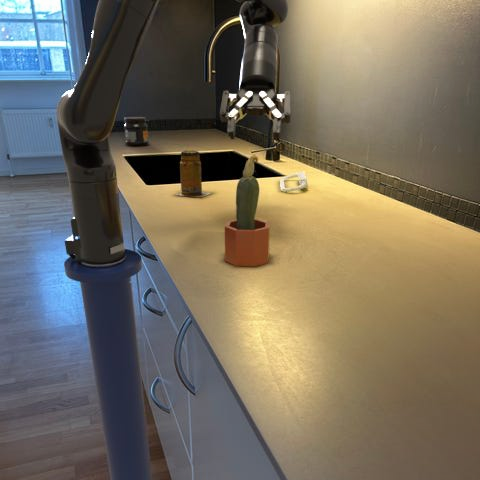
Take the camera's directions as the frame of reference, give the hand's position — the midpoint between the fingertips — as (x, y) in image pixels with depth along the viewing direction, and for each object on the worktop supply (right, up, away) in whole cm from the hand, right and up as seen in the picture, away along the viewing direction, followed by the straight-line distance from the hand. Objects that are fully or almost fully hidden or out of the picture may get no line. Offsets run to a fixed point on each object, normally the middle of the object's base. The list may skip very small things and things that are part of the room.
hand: (253, 137), depth 102 cm
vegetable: (-1, -24, 0) cm, 24 cm away
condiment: (-16, 0, +49) cm, 51 cm away
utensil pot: (-1, -24, 0) cm, 24 cm away
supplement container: (-51, +45, +136) cm, 152 cm away
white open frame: (+14, +5, +58) cm, 60 cm away
